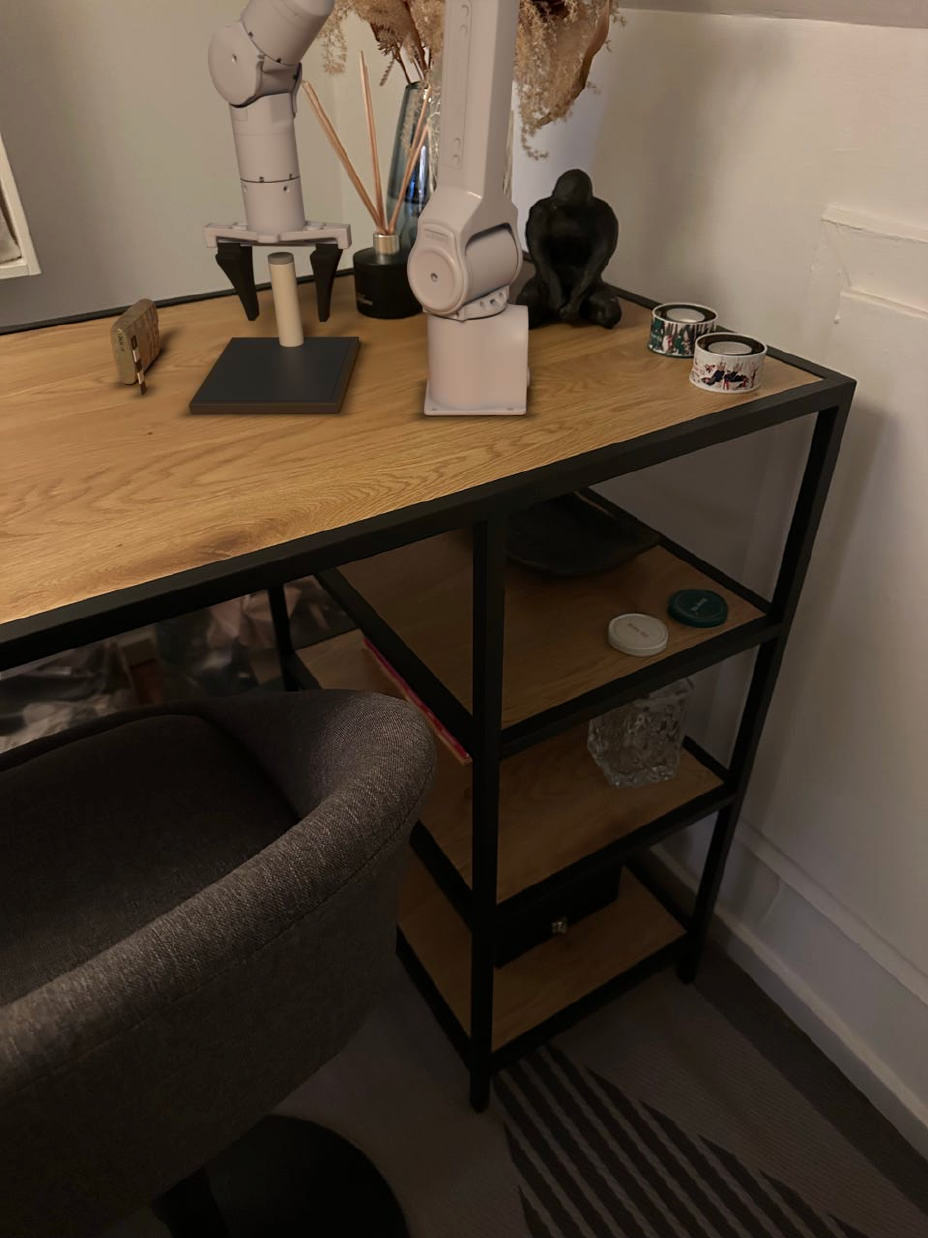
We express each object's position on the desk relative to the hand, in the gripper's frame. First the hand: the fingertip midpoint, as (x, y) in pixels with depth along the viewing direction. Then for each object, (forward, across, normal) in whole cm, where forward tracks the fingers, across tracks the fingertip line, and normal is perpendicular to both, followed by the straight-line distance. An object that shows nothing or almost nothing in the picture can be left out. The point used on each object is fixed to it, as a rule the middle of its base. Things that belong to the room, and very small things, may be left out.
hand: (289, 318), depth 92 cm
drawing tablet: (+4, 0, -7) cm, 8 cm away
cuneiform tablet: (+4, -14, -6) cm, 16 cm away
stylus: (+2, 0, 0) cm, 3 cm away
